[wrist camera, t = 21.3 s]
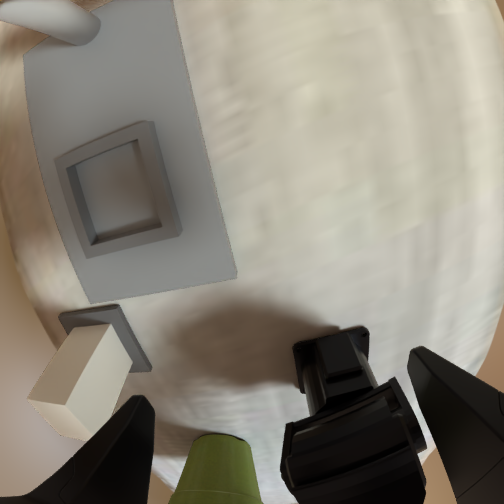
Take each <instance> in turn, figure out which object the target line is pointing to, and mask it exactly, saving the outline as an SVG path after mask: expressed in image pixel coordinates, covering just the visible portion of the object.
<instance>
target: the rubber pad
mask: <svg viewBox="0 0 504 504" xmlns="http://www.w3.org/2000/svg"><path fill="white" fill-rule="evenodd" d="M58 318H59V320H60V322H61V324H62V325H63V327H64V329H65V331H66V332H67V334H68V335H69V334H70V332H71V331H72V330H73V328H75V327H85V326H94V325H103V324H111V325H112V326H113V328H114V330H115V332H116V334H117V336H118V338H119V339H120V341H121V343H122V345H123V346H124V348H125V350H126V352H127V353H128V355H129V357H130V358H131V360H132V362H133V363H132V365H131V368H130V370H129V372H128V373H134V372H151V369H152V366H151V364H150V363H149V361H148V359H147V357H146V355H145V354H144V352H143V350H142V348H141V346H140V345H139V343H138V341H137V339H136V337H135V335H134V333H133V331H132V329H131V328H130V326H129V324H128V322H127V320H126V318H125V316H124V314H123V311H122V309H121V307H120V305H116V306H109V307H102V308H96V309H89V310H82V311H75V312H68V313H61V314H60V315H59V316H58Z"/></svg>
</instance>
